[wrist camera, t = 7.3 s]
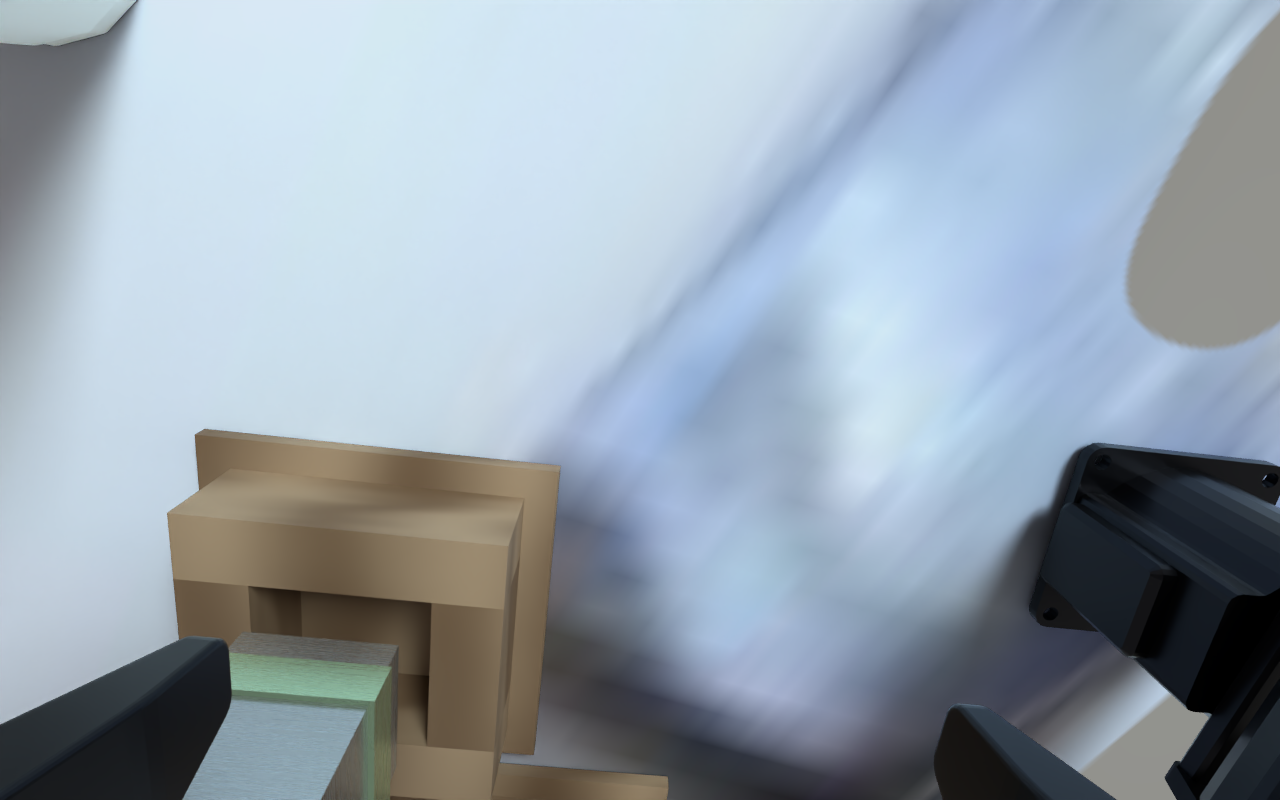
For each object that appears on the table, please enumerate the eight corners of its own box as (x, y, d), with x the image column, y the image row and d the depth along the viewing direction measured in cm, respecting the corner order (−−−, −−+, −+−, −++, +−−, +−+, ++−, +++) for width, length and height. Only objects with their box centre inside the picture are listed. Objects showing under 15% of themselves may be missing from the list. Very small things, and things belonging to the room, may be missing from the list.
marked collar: (560, 465, 22) (544, 531, 17) (535, 744, 25) (516, 854, 21) (204, 429, 21) (101, 487, 17) (225, 718, 24) (143, 826, 20)
